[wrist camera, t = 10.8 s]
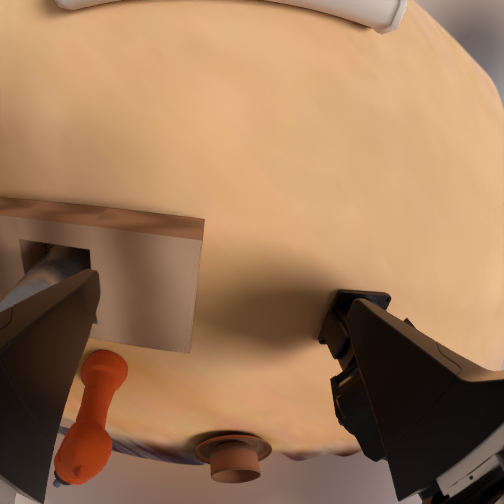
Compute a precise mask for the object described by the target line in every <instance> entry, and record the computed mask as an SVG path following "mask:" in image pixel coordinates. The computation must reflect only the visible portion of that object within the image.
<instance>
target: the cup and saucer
mask: <svg viewBox="0 0 504 504" xmlns="http://www.w3.org/2000/svg"><path fill="white" fill-rule="evenodd" d="M271 452H272V448H271V445H270V444H269V443H268V442H267V441H265V440H263V439H261V438H259V437H255V436H250V435H224V436H218V437H214V438H211V439H208V440H206V441H204V442H202V443H201V444H199V445H198V446H197V447H196V449H195V456H196V458H197V459H199V460H200V461H202V462H204V463H208V464H210V465H211V478H212V479H213V480H214V481H217V482H221V483H243V482H248V481H252V480H254V479H257V478H258V477H260V475H261V474H260V468H259V461H261V460H263V459H265V458H266V457H267V456H269V455H270V453H271Z"/></svg>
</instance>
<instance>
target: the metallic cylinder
mask: <svg viewBox="0 0 504 504" xmlns="http://www.w3.org/2000/svg"><path fill="white" fill-rule="evenodd" d="M86 269H91V258H90V249H83V248H76V247H69V246H63V245H56V244H55V245H54V246H53V247H52V248H51V249H50V250H49V251H48V252H47V253H46V254H45V255H44V256H43V257H42V258H41V259H40V260H39V261H38V262H37V263H36V264H35V265H34V266H33V267H32V268H31V269H30V270H29V271H28V272H27V273H26V274H25V275H24V277H23V278H22V279H21V280H20V281H19V282H18V283H17V284H16V285H15V287H14V288H13V289H12V290H11V291H10V292H9V293H8V295H7V296H6V297H5V298H4V299H3V300H2V302H1V303H0V312H1V311H3V310H5V309H7V308H9V307H11V306H12V307H13V305H15V304H16V303H18V302H20V301H22V300H24V299H26V298H28V297H30V296H32V295H34V294H36V293H38V292H40V291H42V290H44V289H46V288H48V287H50V286H52V285H54V284H56V283H58V282H60V281H62V280H64V279H67V278H69V277H71V276H73V275H75V274H77V273H79V272H81V271H83V270H86Z"/></svg>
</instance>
